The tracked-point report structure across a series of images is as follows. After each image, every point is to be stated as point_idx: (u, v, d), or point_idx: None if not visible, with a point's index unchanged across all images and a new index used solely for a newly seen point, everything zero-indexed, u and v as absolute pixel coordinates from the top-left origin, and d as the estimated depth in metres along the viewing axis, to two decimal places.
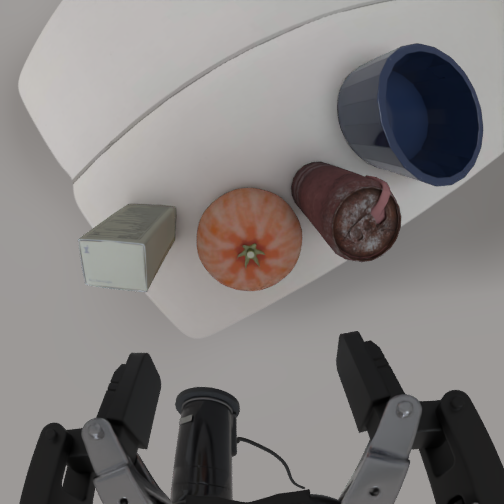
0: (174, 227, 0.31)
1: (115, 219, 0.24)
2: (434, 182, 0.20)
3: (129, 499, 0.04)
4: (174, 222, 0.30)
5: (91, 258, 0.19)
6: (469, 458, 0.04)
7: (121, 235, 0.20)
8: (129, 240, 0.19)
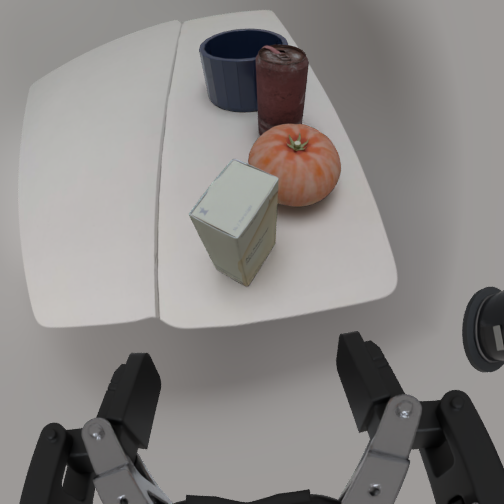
0: None
1: None
2: None
3: (129, 499, 0.04)
4: None
5: (214, 211, 0.19)
6: (469, 458, 0.04)
7: None
8: (223, 172, 0.21)
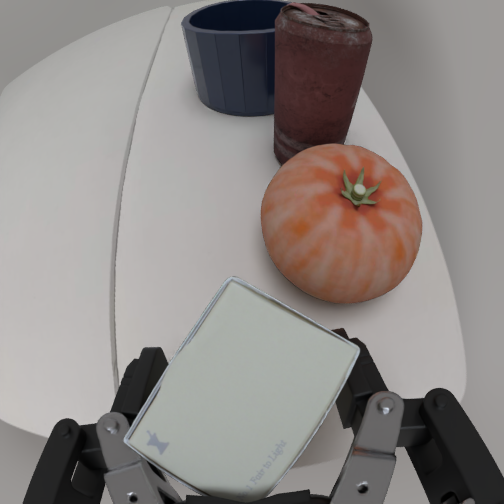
0: None
1: None
2: None
3: (138, 496, 0.04)
4: None
5: (185, 449, 0.06)
6: (458, 455, 0.04)
7: None
8: (203, 317, 0.07)
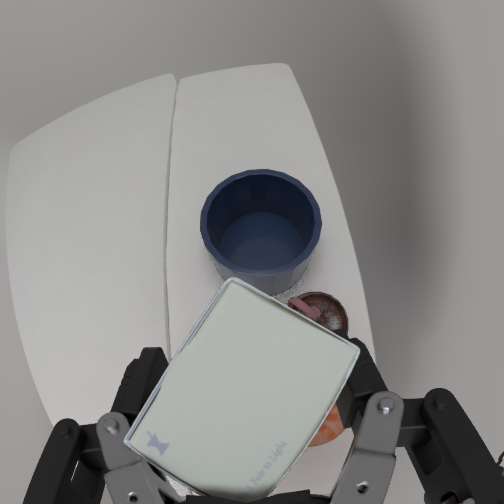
0: None
1: None
2: (314, 241, 0.29)
3: (139, 496, 0.04)
4: None
5: (185, 449, 0.06)
6: (458, 455, 0.04)
7: None
8: (203, 317, 0.07)
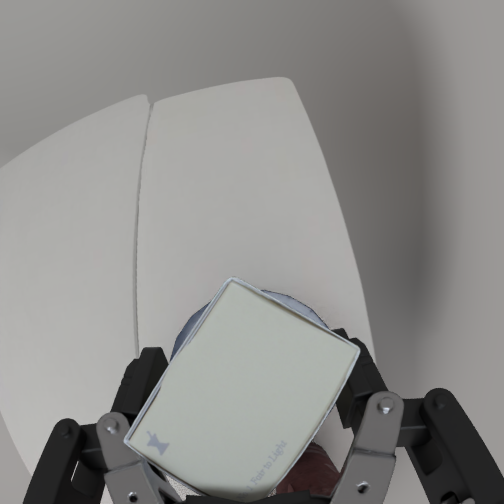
0: None
1: None
2: None
3: (139, 496, 0.04)
4: None
5: (185, 449, 0.06)
6: (458, 455, 0.04)
7: None
8: (203, 317, 0.07)
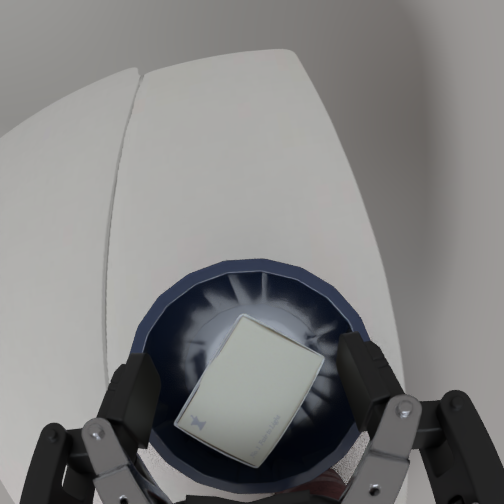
0: None
1: None
2: None
3: (129, 499, 0.04)
4: None
5: (216, 424, 0.10)
6: (469, 458, 0.04)
7: None
8: (224, 339, 0.12)
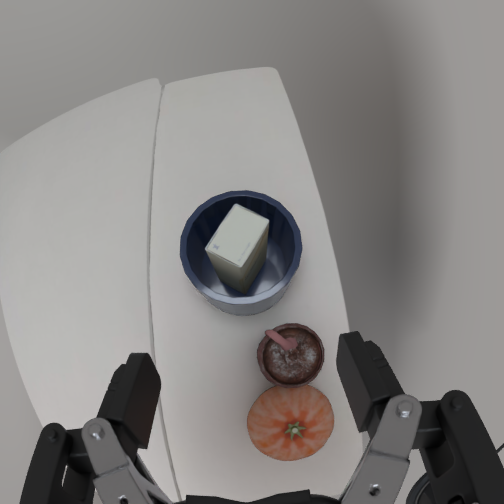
0: None
1: None
2: (294, 268, 0.29)
3: (129, 499, 0.04)
4: None
5: (224, 246, 0.28)
6: (469, 458, 0.04)
7: None
8: (228, 214, 0.29)
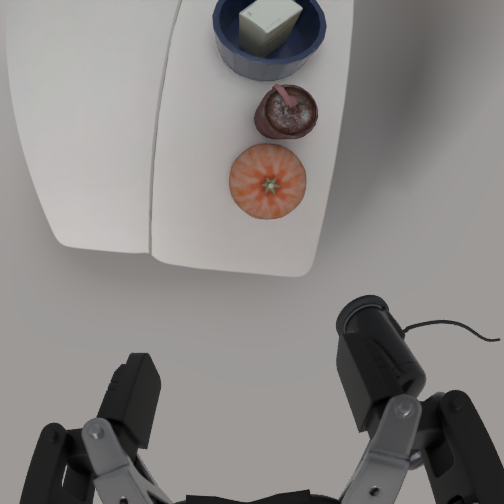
0: None
1: None
2: (312, 50, 0.25)
3: (128, 499, 0.04)
4: None
5: (256, 15, 0.21)
6: (469, 458, 0.04)
7: None
8: None
